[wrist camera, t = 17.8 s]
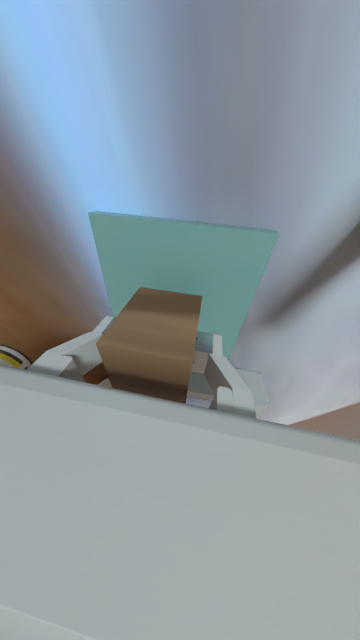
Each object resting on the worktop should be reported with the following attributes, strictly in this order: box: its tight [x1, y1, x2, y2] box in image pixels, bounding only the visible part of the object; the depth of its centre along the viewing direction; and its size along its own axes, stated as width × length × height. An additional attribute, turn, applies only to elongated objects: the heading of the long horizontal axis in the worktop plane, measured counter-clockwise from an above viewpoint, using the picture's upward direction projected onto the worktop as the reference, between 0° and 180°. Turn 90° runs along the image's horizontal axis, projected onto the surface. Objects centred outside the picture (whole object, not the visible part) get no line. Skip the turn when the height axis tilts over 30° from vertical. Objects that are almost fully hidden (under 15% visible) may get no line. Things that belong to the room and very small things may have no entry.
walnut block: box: [96, 287, 202, 403], centre depth 10 cm, size 4×4×5 cm
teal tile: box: [88, 211, 279, 360], centre depth 13 cm, size 11×11×1 cm
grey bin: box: [187, 368, 269, 419], centre depth 21 cm, size 14×14×4 cm
